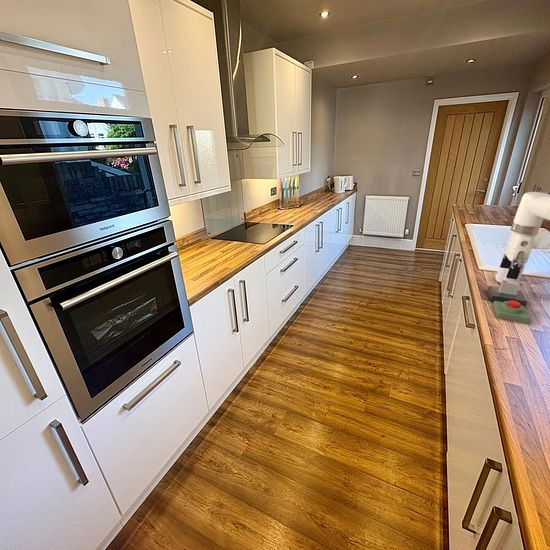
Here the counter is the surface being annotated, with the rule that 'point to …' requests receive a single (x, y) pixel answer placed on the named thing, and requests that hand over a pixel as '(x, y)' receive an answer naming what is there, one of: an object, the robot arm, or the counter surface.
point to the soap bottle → (503, 273)
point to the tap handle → (509, 287)
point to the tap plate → (505, 296)
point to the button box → (511, 312)
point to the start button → (513, 304)
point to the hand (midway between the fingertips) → (507, 272)
